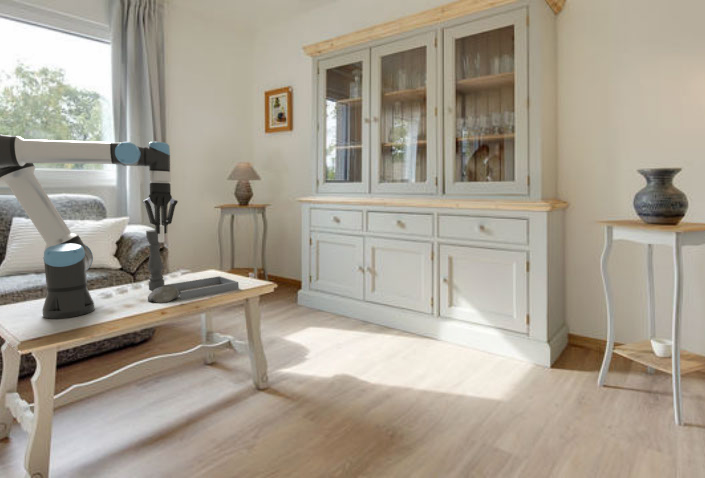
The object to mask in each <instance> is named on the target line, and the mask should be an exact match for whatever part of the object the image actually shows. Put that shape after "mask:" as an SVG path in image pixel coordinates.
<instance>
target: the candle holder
mask: <svg viewBox="0 0 705 478" xmlns="http://www.w3.org/2000/svg"><path fill="white" fill-rule="evenodd" d="M145 235H146V239H147V242H148V244H147V248H148V249H149V258H148V264H147V270H148V271H149V273H150V274H149V277H148V279H149V280H148V290H149V291H153V290H154V289H156V288H159V287H162V286H164V285H165V279H164V275H162V271H164V264H163V261H162V258H161V253H160V252H161V251H160V247H161V246H162V243H161V242H158V234H156V230H155V229H147V230H146V231H145Z"/></svg>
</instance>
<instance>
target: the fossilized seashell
mask: <svg viewBox="0 0 705 478" xmlns="http://www.w3.org/2000/svg"><path fill="white" fill-rule="evenodd" d="M166 285H167V284H166ZM180 292H181V290H177V288H176V287H174V286H171V285H167V286H162V287H159V288H156V289H154V290H152V292H150V293H149V294H148V295H147V302H150V303H151V302H153V303H156V304H163V303H169V302H171V301H172V300H175V299H177V298H178V297H179V296H180Z"/></svg>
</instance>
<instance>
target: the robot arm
mask: <svg viewBox="0 0 705 478" xmlns="http://www.w3.org/2000/svg"><path fill="white" fill-rule="evenodd" d="M34 164H68V165H69V164H71V165H72V164H78V165H79V164H81V165H84V164H85V165H87V164H88V165H89V164H90V165H116V166H122V167H123V166H124V167H148V169H149V173H148V174H149V181H150V182H149V194H148V198H146V199H143V200H142V203H143V206H145V209H146V212H147V213H146V214H147V216H148V219H149V223H150V224H151V225H153V226H154V227H155V229H154V230H156V234H158V242H159V243H165V234H167V231H168V230H167V228H168V227H167V226H168V225H171V224H172V222H173V217H174V213H175V209H176V205H177V204H178V202H179V201H178V200H177V199H174V198H173V196H172V195H171V183H170V182H171V149H170V145H169V143H167V142H160V141H150V142H148V146H137V144H134V143H133V142H129V141H122V142H117V141H116V142H111V141H110V142H109V141H84V140H54V139H51V140H50V139H49V140H48V139H26V138H25V139H24V138H23V137H21V136H20V135H8V134H7V135H6V134H0V182H2V183H5V184H7V186H8V187H9V189H10V191H11V192H12V193H13V195H14V197H15V198H16V200H17V201H18V202H19V204H20V206H21V208H22V209H23V210H24V211H25V213H26V215H27V217H28V218H29V219H30V221H31V222H32V224H33V226H34V227H35V229H36V230H37V231H38V233H39V235H40V236H41V237H42V239H43V240H44V242H45V248H44V250H43V257H42V258H43V262H44V263H43V264H44V271H45V283H46V296H45V300H44V303H43V307H42V309H41V310H42V311H41V312H42V317H44V319H56V320H57V319H67V318H73V317H74V318H75V317H79V316H83V315H87V314H89V313H91V312H93V311H95V302H94V300H93V297H92V296H91V294H90V292H89V290H88V283H87V282H88V281H87V280H88V279H87V271H88V270H89V269H90V268H91V266H92V263H93V261H94V258H93V257H94V256H93V255H94V254H93V252H92V250H91V248H89V246H88V245H86V244H85V243H84V242H83V240H82V239H81V237H80V236H79V234H78V233H74V232H72V231H71V230H70V228H69V227H68V225H67V223H66V222H65V220H64V219H63V218H62V215H61V214H60V213H59V211H58V210H57V208H56V207H55V205H54V203H53V201H52V200H51V199H50V197H49V195H48V194H47V192H46V191H45V189H44V188H43V186H42V184H41V183H40V182H39V180H38V178H37V176H36V175H35V174H34V173H35V169H36V166H35V165H34ZM151 203H152V204H153V209H154V212H153V209H152V205H151ZM168 204H169V207H168ZM167 211H168V212H167Z"/></svg>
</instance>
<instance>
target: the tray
mask: <svg viewBox="0 0 705 478" xmlns="http://www.w3.org/2000/svg"><path fill="white" fill-rule="evenodd" d="M167 285H171V286H174V287H176V288H177V290H180V295H179V296H180V297H179V299H180V300H185V299H186V300H187V299H191V298H192V299H193V298H196V297H202V296H207V295H212V294H217V293H223V292H229V291H235V290H239V285H240V284H239V281H236V280H234V279H233V280H232V279H231V278H228V277H224V276H221V275H218V276H213V277H205V278H201V279H193V280H186V281H181V282H174V283H169V284H164V286H167ZM198 287H199V288H198ZM181 290H182V291H181Z"/></svg>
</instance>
